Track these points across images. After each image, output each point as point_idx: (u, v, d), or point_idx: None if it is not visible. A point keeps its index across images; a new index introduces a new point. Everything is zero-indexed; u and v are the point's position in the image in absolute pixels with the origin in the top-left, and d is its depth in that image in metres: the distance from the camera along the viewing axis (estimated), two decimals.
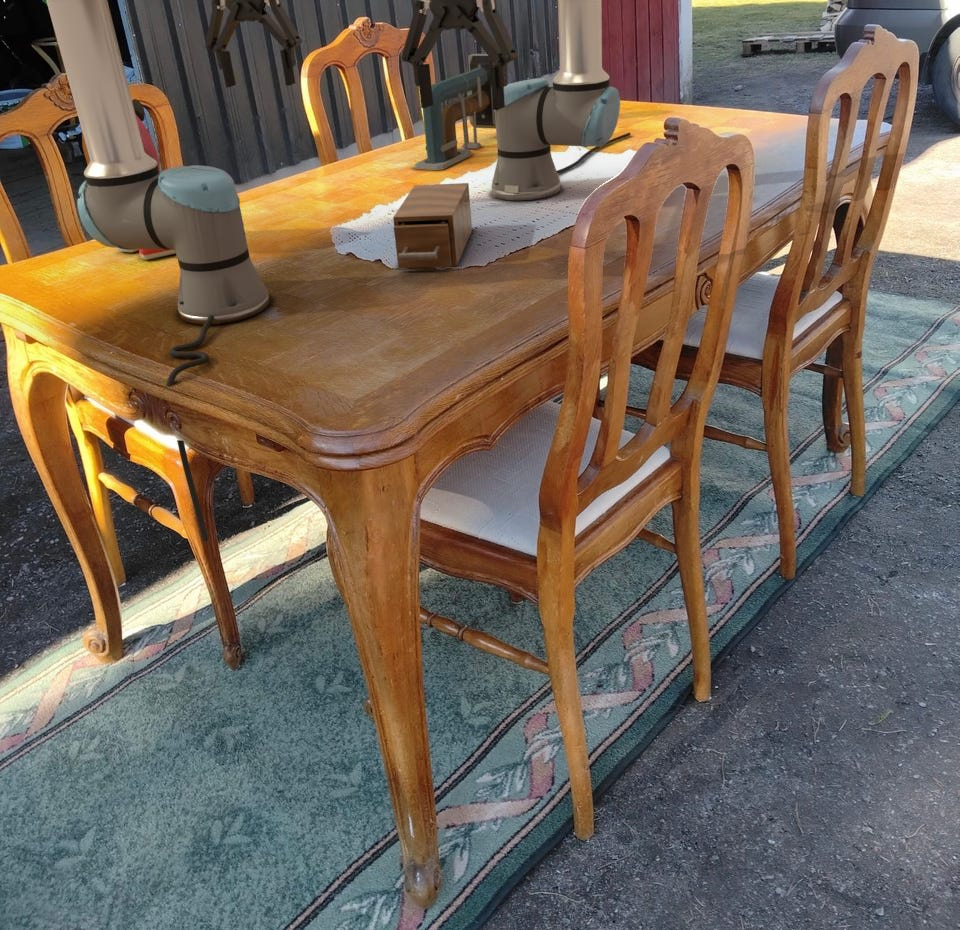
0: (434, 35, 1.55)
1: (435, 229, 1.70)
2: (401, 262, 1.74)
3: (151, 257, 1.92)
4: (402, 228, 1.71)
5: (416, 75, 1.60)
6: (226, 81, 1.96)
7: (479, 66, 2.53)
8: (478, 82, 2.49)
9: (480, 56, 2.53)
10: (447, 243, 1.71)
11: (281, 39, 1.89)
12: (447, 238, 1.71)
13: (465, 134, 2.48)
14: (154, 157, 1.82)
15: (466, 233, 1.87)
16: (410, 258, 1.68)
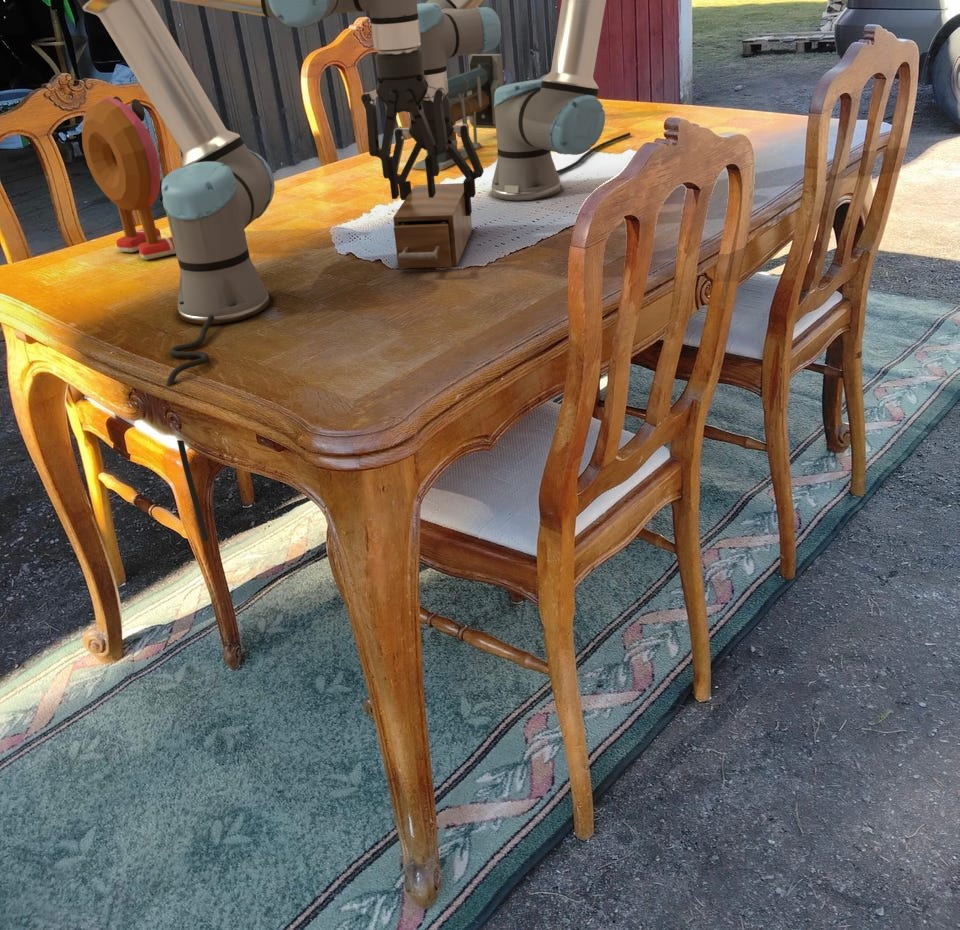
0: None
1: (435, 229, 1.70)
2: (401, 262, 1.74)
3: (151, 257, 1.92)
4: (402, 228, 1.71)
5: None
6: (393, 192, 1.64)
7: (479, 66, 2.53)
8: (478, 82, 2.49)
9: (480, 56, 2.53)
10: (447, 243, 1.71)
11: (430, 144, 1.59)
12: (447, 238, 1.71)
13: None
14: (154, 157, 1.82)
15: (466, 233, 1.87)
16: (410, 258, 1.68)
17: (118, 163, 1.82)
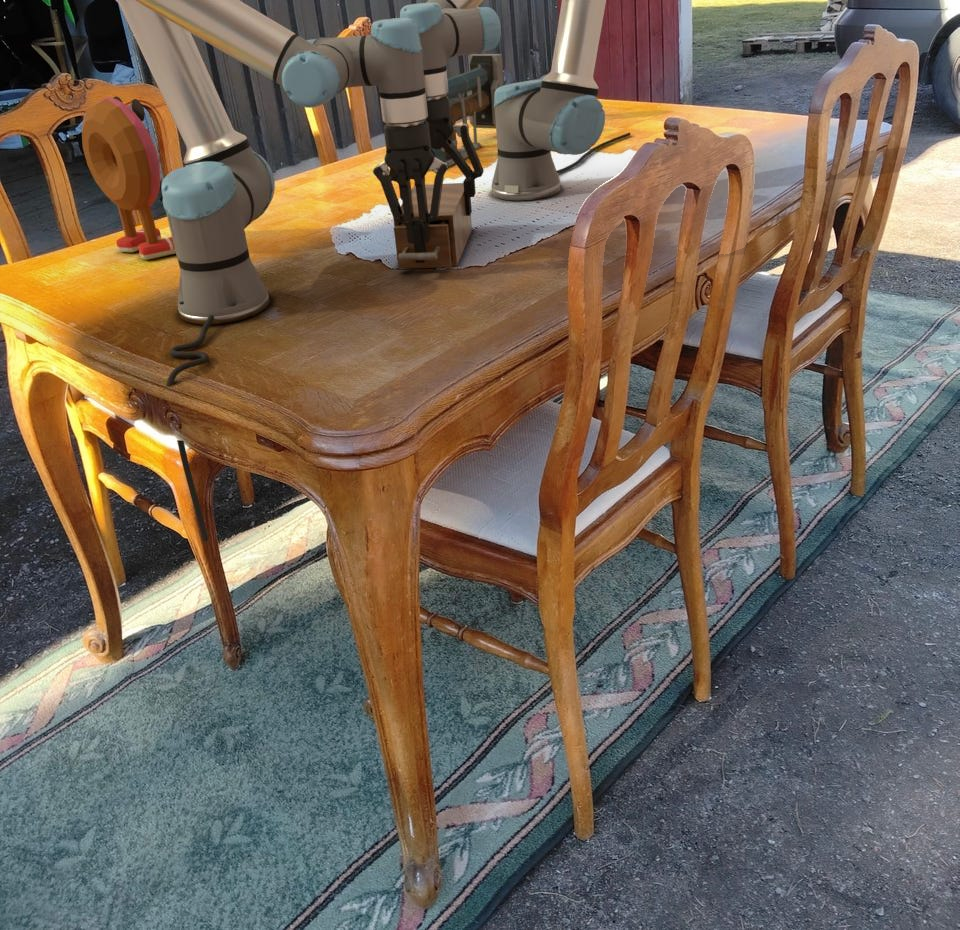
0: None
1: (435, 229, 1.70)
2: (401, 262, 1.74)
3: (151, 257, 1.92)
4: (402, 228, 1.71)
5: None
6: None
7: (479, 66, 2.53)
8: (478, 82, 2.49)
9: (480, 56, 2.53)
10: (447, 243, 1.71)
11: (423, 213, 1.65)
12: (447, 238, 1.71)
13: None
14: (154, 157, 1.82)
15: (466, 233, 1.87)
16: (410, 258, 1.68)
17: (118, 163, 1.82)
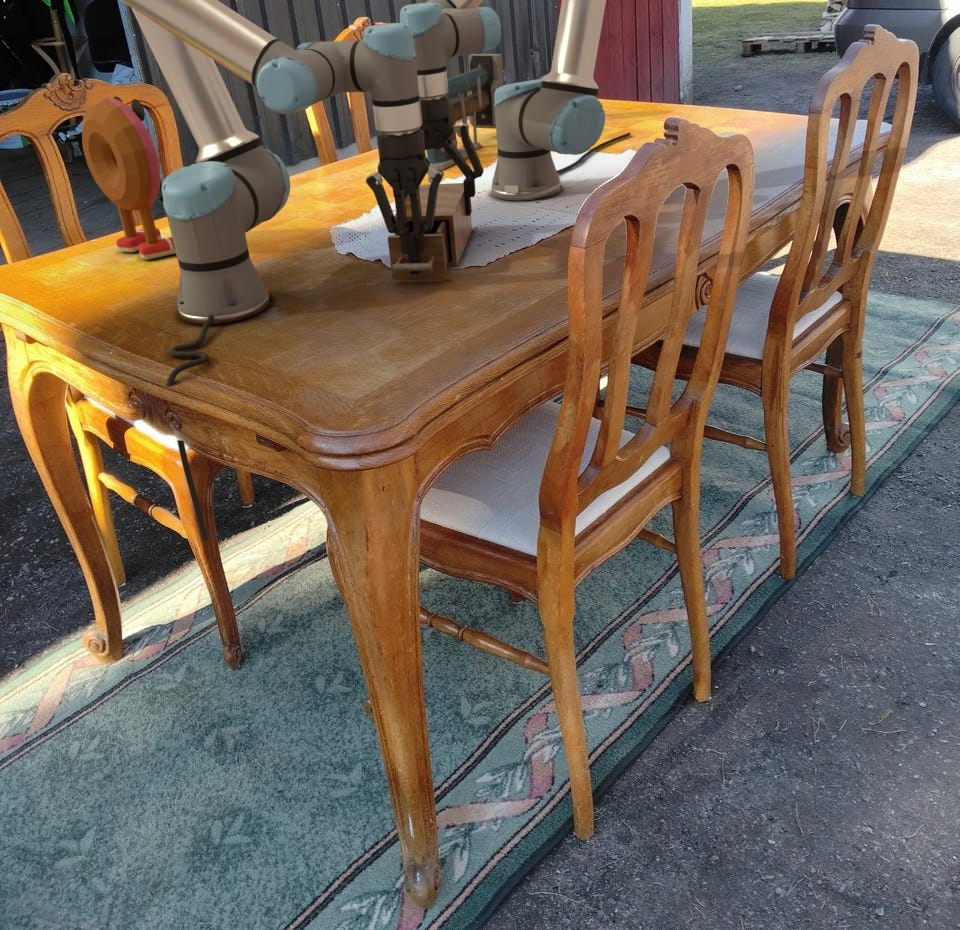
0: None
1: (430, 239, 1.66)
2: (396, 272, 1.69)
3: (151, 257, 1.92)
4: (396, 238, 1.66)
5: None
6: None
7: (479, 66, 2.53)
8: (478, 82, 2.49)
9: (480, 56, 2.53)
10: (442, 254, 1.67)
11: (417, 223, 1.61)
12: (442, 248, 1.66)
13: None
14: (154, 157, 1.82)
15: (466, 233, 1.87)
16: (404, 269, 1.64)
17: (118, 163, 1.82)
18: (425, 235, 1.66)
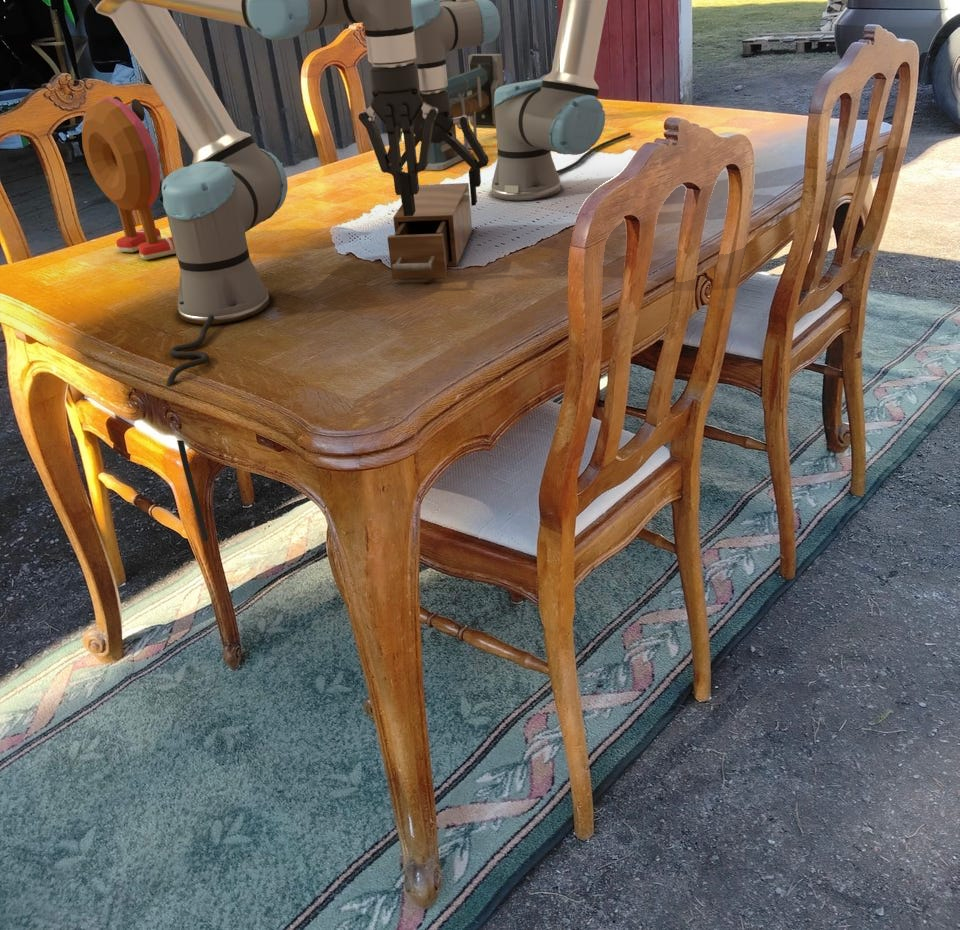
0: None
1: (430, 239, 1.65)
2: (395, 272, 1.69)
3: (151, 257, 1.92)
4: (396, 238, 1.66)
5: None
6: (405, 209, 1.60)
7: (479, 66, 2.53)
8: (478, 82, 2.49)
9: (480, 56, 2.53)
10: (442, 254, 1.67)
11: (411, 162, 1.56)
12: (442, 248, 1.66)
13: None
14: (154, 157, 1.82)
15: (466, 233, 1.87)
16: (404, 269, 1.64)
17: (118, 163, 1.82)
18: (425, 235, 1.66)
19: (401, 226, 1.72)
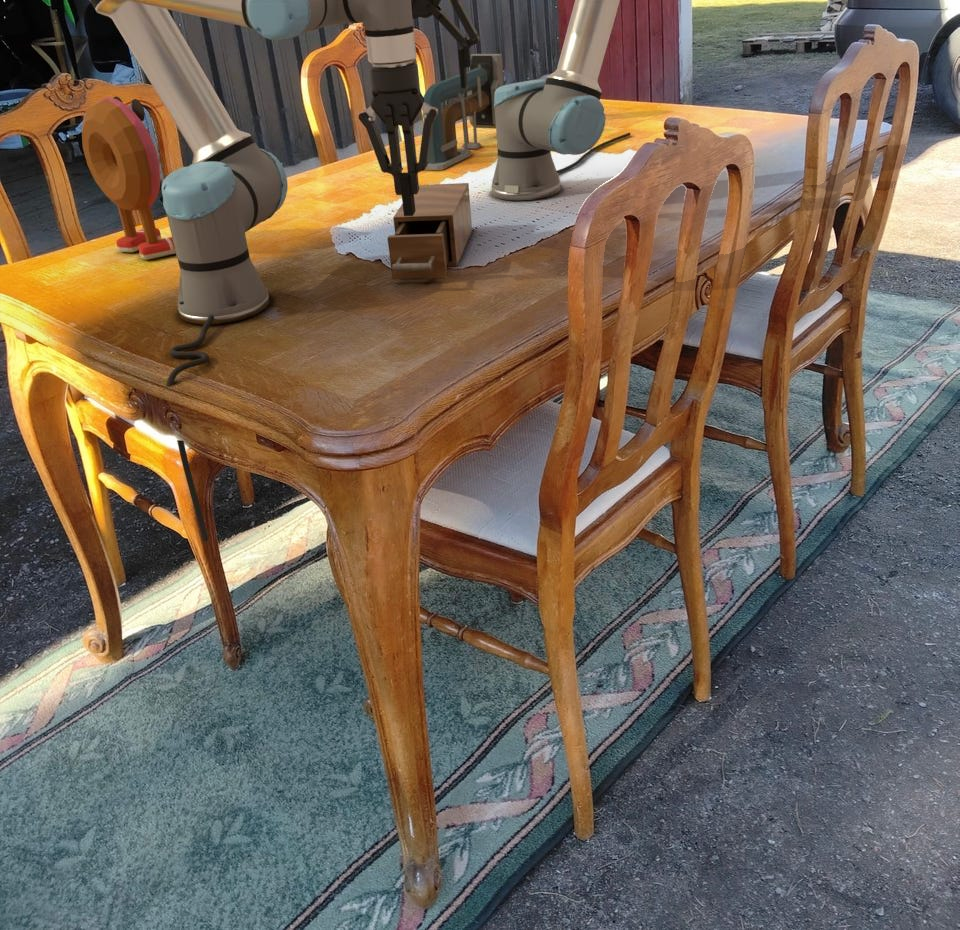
0: None
1: (430, 239, 1.65)
2: (395, 272, 1.69)
3: (151, 257, 1.92)
4: (396, 238, 1.66)
5: None
6: (405, 209, 1.60)
7: (479, 66, 2.53)
8: (478, 82, 2.49)
9: (480, 56, 2.53)
10: (442, 254, 1.67)
11: (411, 162, 1.56)
12: (442, 248, 1.66)
13: (465, 134, 2.48)
14: (154, 157, 1.82)
15: (466, 233, 1.87)
16: (404, 269, 1.64)
17: (118, 163, 1.82)
18: (425, 235, 1.66)
19: (401, 226, 1.72)
